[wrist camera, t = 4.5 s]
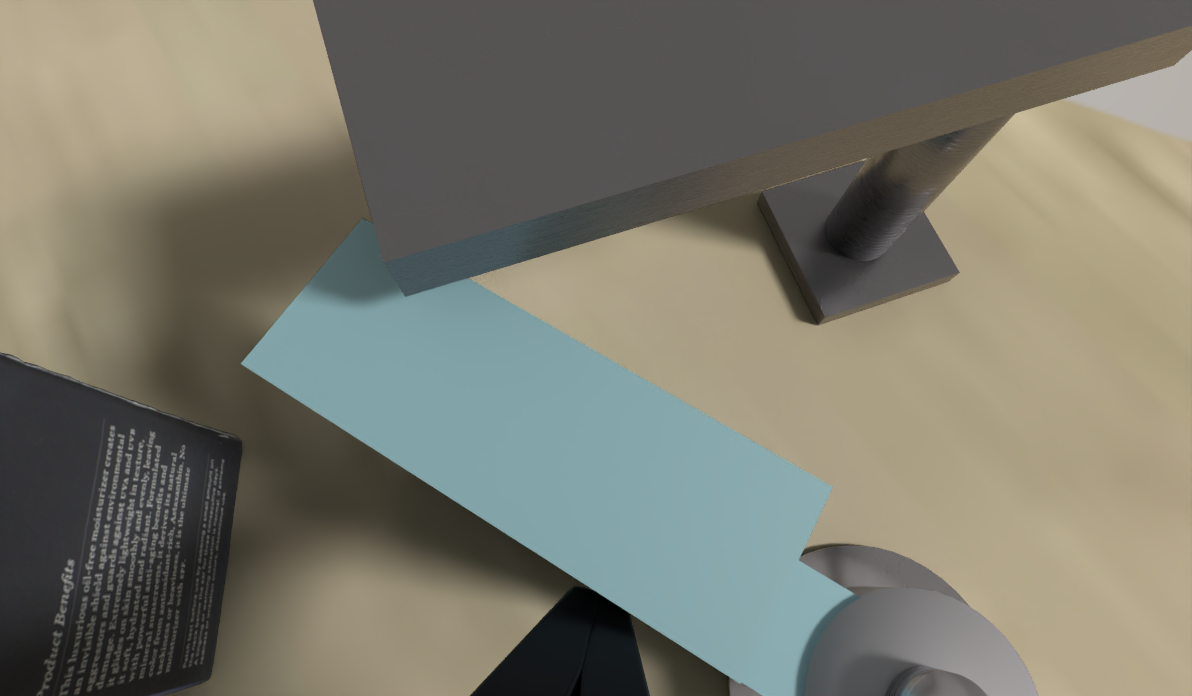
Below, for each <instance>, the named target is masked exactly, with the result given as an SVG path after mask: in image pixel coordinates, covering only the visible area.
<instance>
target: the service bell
mask: <svg viewBox="0 0 1192 696" xmlns="http://www.w3.org/2000/svg"><path fill="white" fill-rule="evenodd" d="M799 561H800V562H802V563H804V564H805V565H807V566H809V567H811V568H812V569H814V570H816V571H817V572H819V573H821V574H822V575H824V576H826V577H827V578H829V579H831V580H832V581H834V582H836V583H837V584H839V585H841V586H842V587H844V588H847V587H860V586H865V587H895V588H915V589H925V590H929V591H934V592H938V593H941V594H944V595H947V596H949V597H952V598H954V599H956V600H958V601H960V602H962V603H964V604H966V605H968V604H967V603H966V602H965V601H964V599H963V598H962V597H961V596H960V595H959V594H958V593H957V592H956V591H955V590H954V589H953V588H952V587H951V586H950V585H948V584H947V583H946V582H945V581H944V580H943V579H942V578H940V577H939V576H937V575H936V574H935V573H933V572H932V571H930V570H929V569H927V568H926V567H924V566H922V565H920V564H919V563H917V562H915V561H913V560H911V559H909V558H907V557H904V556H902V555H899V554H897V553H894V552H891V551H887V550H883V549H880V548H876V547H868V546H860V545H849V546H835V547H829V548H822V549H819V550H816V551H812V552H809V553H806V554H804V555H802V556H800V558H799ZM968 606H969V605H968ZM969 607H970V606H969ZM728 687H729V696H762V695H761V694H759V693H757V692H756V691H754V690H753V689H751V688H750V687H748V686H747V685H745V684H743V683H741V684H739V683H738V682H736V681H735V680H733V679H732V678H730V677H729V676H728ZM886 696H987V694H986V693H985V692H984V691H983V690H982V689H981V688H980V687H979V686H978V685H977V684H975V683H974V682H973V681H971V680H970V679H968V678H966V677H964V676H962V675H959V674H956V673H952V672H948V671H944V670H940V669H936V668H933V667H928V666H915V667H911V668H908V669H906V670H904V671H902V672H901V673H899V674H898V675H897V676H896V677H895V678H894V679H893V681H892V682H891V683H890V685H889V687H888V689H887V692H886Z"/></svg>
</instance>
